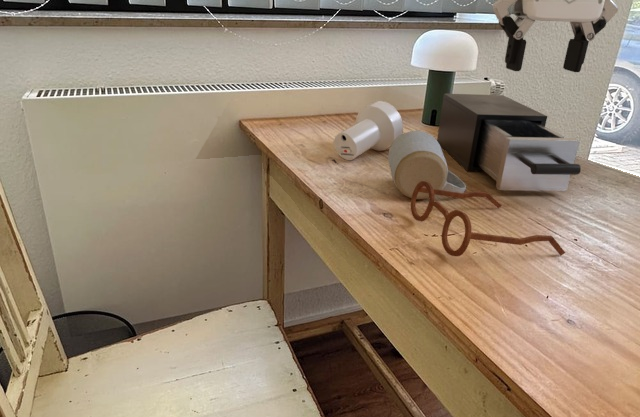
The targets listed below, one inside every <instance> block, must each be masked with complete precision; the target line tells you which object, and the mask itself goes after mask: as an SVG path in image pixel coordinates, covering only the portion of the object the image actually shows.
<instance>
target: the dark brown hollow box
mask: <svg viewBox="0 0 640 417" xmlns="http://www.w3.org/2000/svg"><path fill="white" fill-rule="evenodd" d="M482 120H519V121H535V122H537V123H539V124H541V125H542V126H544V127H546V124H547V121H548V115H546V114H544V113H542V112H540V111H537V110H535V109H533V108H531V107H530V106H527V105H526V104H525V105H524V104H522V103H521V102H519V101H516V100H514V99H512V98H510V97H508V96H506V95H504V94H473V93H472V94H471V93H443V98H442V103H441V110H440V117H439V123H438V124H439V125H438V130H437V138H436V140H437V141H438V143H439V144H440V147H441V149H442V150H444V151H445V152H446V153H447V154H448V155H449V156H450V157H451V158H452V159H453V160H454V161H455V162H457V163H458V164H459V165H460V166H461V168H463V169H464V170H465V171H466V172H469V173H470V172H476V173H477V172H479V173H480V172H481V173H482V172H483V173H486V172H485V171H484V170H483V169H482V168H480V167H479V166H478V165H477V164H476V163H475V162H474V159H475V153H476V148H477V142H478V137H479V131H480V126H481V121H482Z"/></svg>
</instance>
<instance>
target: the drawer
mask: <svg viewBox="0 0 640 417" xmlns="http://www.w3.org/2000/svg"><path fill="white" fill-rule="evenodd" d="M580 142H581V141H580V140H579V139H577V138H575V137H565V136H564V135H562V134H561V133H558V132H556V131H554V130H552V129H551V128H548V127H546V126H545V127H544V126H542V125H541V124H539V123H537V122H535V121H519V120H482V121H481V126H480V131H479V137H478V142H477V148H476V153H475V159H474V162H475V163H476V164H477V165H478V166H479V167H480V168H482V169H483V170H484V171H485V172H484V173H486V174H487V175H488V176H489V177H491V179H493V180H494V181H495V182H496V184H495V188H496V189H497V190H498V191H526V192H527V191H532V192H534V191H535V192H536V191H537V192H540V191H541V192H544V191H545V192H546V191H547V192H552V191H553V192H566V191H567V190H568V186H569V182H570V179H571V176H578V175H580V173H581V165H580V164H579V163H575V161H576V158H577V157H576V156H577V153H578V150H579V146H580Z"/></svg>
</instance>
